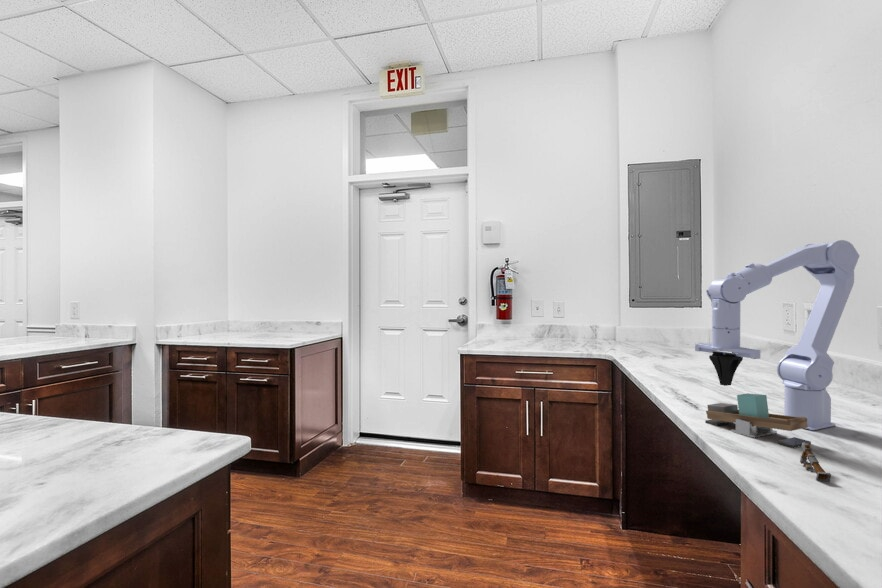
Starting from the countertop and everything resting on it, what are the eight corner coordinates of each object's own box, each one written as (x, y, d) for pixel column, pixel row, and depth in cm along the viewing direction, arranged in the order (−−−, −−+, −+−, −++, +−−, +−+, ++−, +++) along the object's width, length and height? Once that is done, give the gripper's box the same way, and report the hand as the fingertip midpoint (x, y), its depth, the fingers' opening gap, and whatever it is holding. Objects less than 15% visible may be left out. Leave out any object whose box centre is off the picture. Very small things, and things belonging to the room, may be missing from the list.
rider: (750, 415, 102) (748, 393, 103) (769, 417, 99) (766, 394, 99) (739, 417, 101) (736, 395, 101) (757, 419, 97) (755, 396, 98)
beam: (724, 418, 109) (722, 402, 110) (808, 430, 93) (806, 411, 93) (707, 421, 107) (705, 405, 107) (790, 434, 90) (787, 415, 91)
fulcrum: (724, 419, 110) (724, 406, 110) (813, 443, 93) (813, 428, 93) (702, 423, 107) (702, 409, 107) (790, 448, 90) (790, 433, 89)
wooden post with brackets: (805, 458, 82) (810, 439, 80) (826, 493, 75) (831, 473, 73) (794, 457, 83) (798, 439, 81) (813, 492, 76) (818, 472, 74)
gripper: (686, 326, 111) (686, 380, 111) (746, 331, 97) (746, 392, 97) (705, 325, 113) (705, 378, 114) (766, 330, 100) (766, 390, 100)
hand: (725, 384), depth 106 cm, fingers closed
